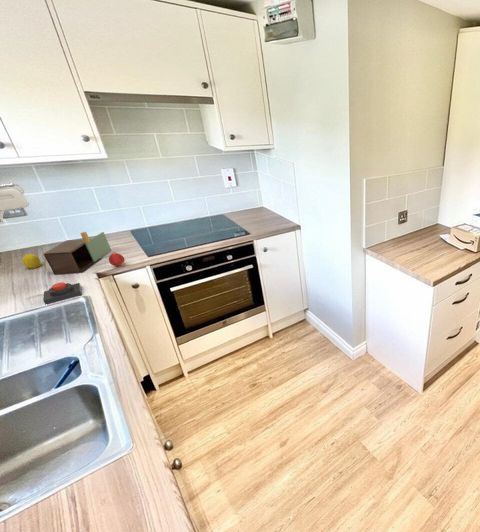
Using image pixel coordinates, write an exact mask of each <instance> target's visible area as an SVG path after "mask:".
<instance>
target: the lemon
mask: <svg viewBox="0 0 480 532" xmlns="http://www.w3.org/2000/svg"><path fill="white" fill-rule="evenodd" d="M21 261H22V264H23V266H25V267H26V268H28V269H38V268H39V267H40V266H41V264H42V261H41V259H40V258H39V257H38V256H37V255H35V254H32V253H31V254H30V253H26V254H25V255H24V256H22V259H21Z"/></svg>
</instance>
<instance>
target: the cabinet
mask: <svg viewBox="0 0 480 532" xmlns="http://www.w3.org/2000/svg"><path fill="white" fill-rule="evenodd" d="M43 257H44V258H45V260H46V262H47V264H48V266H49V267H50V269H51V271H52V273H53V274H54V276H57V275H58V276H59V275H71V274H83V273H84V272H86V271H87V270H89V269H90V268H91V267H93V266H95V265H96V264H97V263H98V262H99V261H101V260H102V259H103V257H101V258H99V259H98V260H97V261H95V262H93V260H92V258H91V256H90V254H89V252H88V249H87V247H86V245H85V242H84V240H83V238H81V239H67V240H64V241H63V242H61V243H59V244H57V245H56V246H54V247H52V248H51V249H49V250H48V251H45V252H44V253H43Z"/></svg>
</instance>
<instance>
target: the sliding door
mask: <svg viewBox="0 0 480 532" xmlns="http://www.w3.org/2000/svg"><path fill="white" fill-rule="evenodd" d="M80 236H81V239H83V240H84V242H85V245H86V247H87V249H88V252H89V254H90V256H91V258H92V260H93V262H95V261H97V260H98V259H99V258H103V257H104V256H105V255H107V254H108V253H109V252H111V251H112V248H111V245H110V244H109V241H108V239H107V236H106V234H105V231H101V232H100V233H99V234H97V235H95V236H93V237H92V238H90V237H89V234H88V233H87V231H82V232H80Z"/></svg>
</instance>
